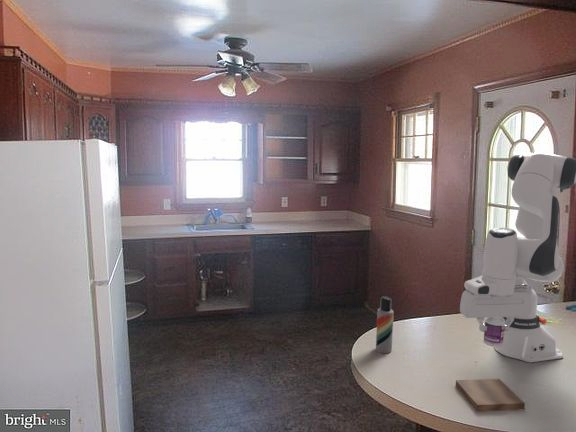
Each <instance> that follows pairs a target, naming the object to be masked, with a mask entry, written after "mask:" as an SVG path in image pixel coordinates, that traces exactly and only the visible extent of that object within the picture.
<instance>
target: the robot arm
mask: <svg viewBox="0 0 576 432" xmlns="http://www.w3.org/2000/svg"><path fill="white" fill-rule="evenodd" d="M506 170H507V177H508V178H509V180H511V181H512V182H513V183H512V187H511V197H512V199H513V201H514V202H515V203H516V205H517V206H518V207H519V208H518V211H517V214H516V220H515V223H514V224H515V225H514V226H515V229H516V230H517V231H518V233H520V235H522V236H523V237H519V236H518V233H517V231H516V230H515V229H512V228H509V227H495V228H492V229H490V230H488V231H487V235H486V238H485V243H484V248H483V257H482V260H483V268H482V271H481V275H480V276H477V277H474V278H472V279H468V280H465V282H464V288H465V290H464V291H463V292H462V294H461V297H460V304H459V311H460V314H461V315H462V316H463V317H464V318H466V319H467V318H468V319H476V321H477V322H478V324H479V325H478V326H479V328H478V329H479V331H480V332H483V333H484V332H485V331H487V326H486V325H485V323H484V322H485V319H486V318H487V317H495V316H496V315H497V314H501V315H502V317H503V318H502V319H503V320H504V322H505V328H504V338H503V345H502V346H500V347H493V348H494V350H496V351H497V352H498V353H499V354H500V355H503V356H506V357H508V358H512V359H517V360H521V361H524V362H527V363H537V362H544V361H552V360H557V359H563V353H562V351H561V350H560V349H559V348H557V345H556V344H557V343H556V340H555V337H554V336H553V335H552V334H551V333H550V332H548V331H547V330H546V329H545V328H544V327H543V326H541V325H546V324H547V322H548V321H547V319H546V318H544V317H540V316H539V315H537V308H538V299H539V298H538V294H537V292H536V291H535V290H534V289H533V288H532V287H531V286H530V285H528V283H527V280H526V279H529V280H532V281H533V280H534V281H536V282H545V283H546V282H547V283H552V282H553V283H554V282H557V281H558V280H559V279H560V277H562V275H563V272H564V268H565V266H564V261H563V258H562V257H561V255H560V252H559V239H560V238H559V237H560V219H561V214H560V208H561V207H560V202H559V199H558V197H557V189H559V193H560V194H561V193H563V191H564V190H569V189H570V188H573V186H575V184H576V158H574V157H571V156H563V155H560V154H559V155H558V154H554V153H548V152H547V153H543V152H534V153H533V152H523V151H522V152H516V153H514V154H512V155H511V157H510V159H509V161H508V163H507V167H506Z"/></svg>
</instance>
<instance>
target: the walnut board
mask: <svg viewBox="0 0 576 432" xmlns="http://www.w3.org/2000/svg"><path fill="white" fill-rule="evenodd" d="M455 387H456V389H457V390H458V391H459V392H460V393H461V395H462V396H463V397H464V398H465V399H466V400H467V402H469V404H470V405H471V406H472V408H473V409H474V410H475V411H476V412H477V413H478V412H495V411H496V412H498V411H500V412H501V411H502V410H503V411H517V410H516V409H524V410H525V404H526V403H525V402H524V400H522V399H521V398H520V397H519V396H518V395H517V394H516V393H515V392H514V391H513V390H511V388H509V386H507V384H506V383H504V381H502V380H501V379H500V378H488V379H484V378H483V379H459V380H457V379H456V380H455Z"/></svg>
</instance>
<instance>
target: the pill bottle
mask: <svg viewBox="0 0 576 432" xmlns="http://www.w3.org/2000/svg"><path fill="white" fill-rule="evenodd" d="M502 318H503V317H502V315H501V314H497V315H496V316H495V317H485V318H484V324H485V325H486V326H487V331H485V332H483V343H484V344H485V345H487V346H490V347H493V348H494V347H500V346H502V345H503V338H504V328H505V322H504V320H503V319H502Z"/></svg>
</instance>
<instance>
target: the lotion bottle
mask: <svg viewBox="0 0 576 432" xmlns="http://www.w3.org/2000/svg"><path fill="white" fill-rule="evenodd" d="M376 313H377V315H376V316H377V317H376V334H375V335H376V337H375V339H376V340H375V350H376V351H377V352H378V353H382V354H389V353H391V352H392V351H393V349H392V348H393V332H394V331H393V330H394V313H395V312H394V310H393V309H392V298H391V297H389V296H381V298H380V306H379V308H377V312H376Z"/></svg>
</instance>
